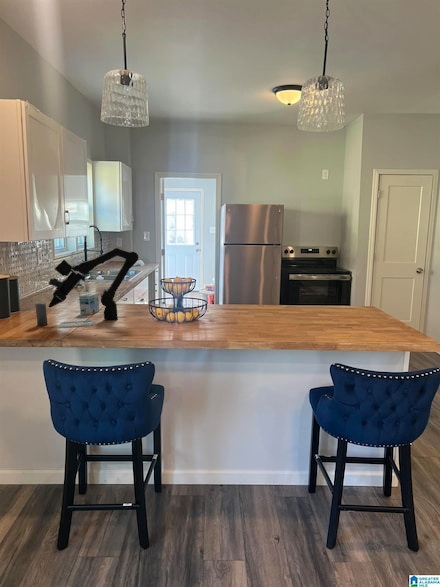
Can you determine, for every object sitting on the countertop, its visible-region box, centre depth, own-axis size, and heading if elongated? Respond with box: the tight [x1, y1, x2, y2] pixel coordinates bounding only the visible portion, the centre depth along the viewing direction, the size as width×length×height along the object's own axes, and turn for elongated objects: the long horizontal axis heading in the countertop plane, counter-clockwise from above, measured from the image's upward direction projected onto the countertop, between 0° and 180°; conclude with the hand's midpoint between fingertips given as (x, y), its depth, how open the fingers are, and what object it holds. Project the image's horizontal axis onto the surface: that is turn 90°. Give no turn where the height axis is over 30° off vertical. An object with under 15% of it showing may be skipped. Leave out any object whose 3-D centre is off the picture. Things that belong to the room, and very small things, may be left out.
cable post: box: [35, 302, 48, 327], centre depth 210 cm, size 5×5×11 cm
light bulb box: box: [78, 292, 100, 315], centre depth 238 cm, size 11×7×11 cm, turn 168°
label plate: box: [58, 319, 95, 329], centre depth 210 cm, size 16×10×1 cm, turn 104°
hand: (49, 305), depth 211 cm, fingers open, 9 cm apart
